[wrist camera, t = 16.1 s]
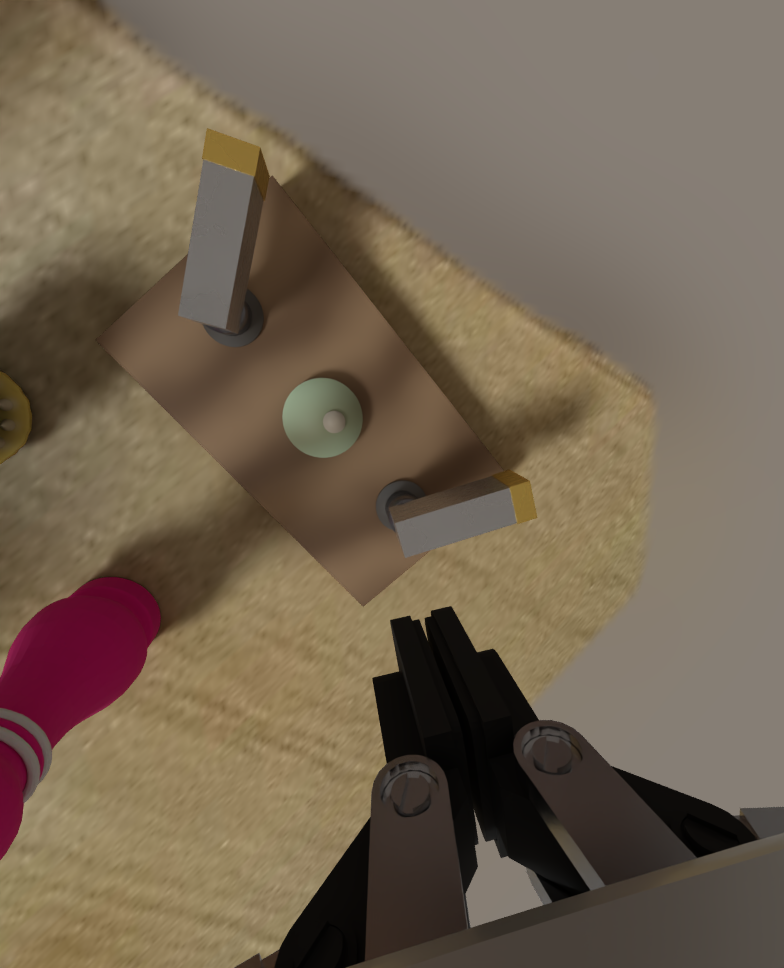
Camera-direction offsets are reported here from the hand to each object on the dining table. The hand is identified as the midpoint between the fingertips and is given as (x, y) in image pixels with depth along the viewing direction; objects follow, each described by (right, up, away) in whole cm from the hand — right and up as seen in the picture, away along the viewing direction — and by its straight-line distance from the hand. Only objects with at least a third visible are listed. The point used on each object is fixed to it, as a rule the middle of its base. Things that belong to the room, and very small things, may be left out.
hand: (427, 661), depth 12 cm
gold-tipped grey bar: (-10, +17, +14) cm, 24 cm away
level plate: (-6, +9, +19) cm, 22 cm away
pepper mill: (-21, -5, +21) cm, 30 cm away
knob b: (+3, +4, +19) cm, 20 cm away
